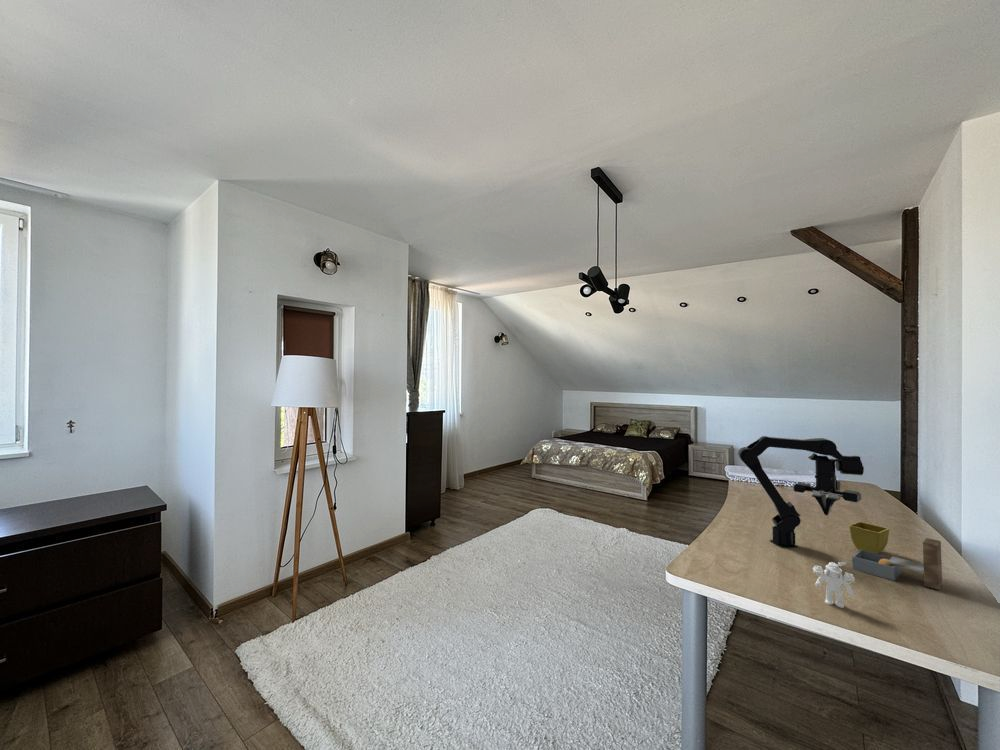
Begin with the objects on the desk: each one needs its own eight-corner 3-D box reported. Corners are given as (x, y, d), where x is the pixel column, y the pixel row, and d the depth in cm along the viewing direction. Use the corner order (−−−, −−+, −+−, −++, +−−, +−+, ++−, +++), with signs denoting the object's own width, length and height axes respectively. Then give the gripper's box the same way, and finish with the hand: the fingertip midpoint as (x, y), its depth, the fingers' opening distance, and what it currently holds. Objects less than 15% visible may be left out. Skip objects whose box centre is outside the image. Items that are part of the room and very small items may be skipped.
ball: (893, 568, 124) (876, 563, 128) (895, 576, 125) (878, 572, 129) (895, 558, 126) (878, 554, 130) (897, 566, 127) (880, 562, 131)
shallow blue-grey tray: (852, 568, 131) (852, 556, 131) (860, 561, 136) (860, 549, 137) (894, 580, 122) (894, 567, 123) (901, 572, 128) (901, 559, 128)
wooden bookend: (888, 576, 125) (887, 534, 125) (893, 570, 129) (891, 530, 129) (938, 590, 116) (937, 545, 117) (942, 583, 120) (940, 540, 120)
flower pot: (880, 558, 139) (879, 532, 139) (849, 549, 146) (848, 525, 147) (890, 553, 143) (889, 528, 143) (860, 545, 150) (859, 521, 151)
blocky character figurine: (855, 606, 108) (854, 562, 108) (856, 612, 105) (854, 567, 105) (813, 595, 114) (812, 553, 114) (812, 600, 111) (811, 557, 111)
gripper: (864, 474, 143) (866, 517, 143) (803, 466, 158) (804, 505, 158) (856, 478, 137) (857, 523, 136) (792, 469, 152) (793, 510, 151)
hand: (826, 515), depth 146 cm, fingers closed
